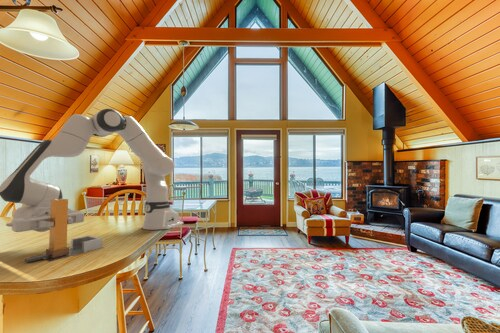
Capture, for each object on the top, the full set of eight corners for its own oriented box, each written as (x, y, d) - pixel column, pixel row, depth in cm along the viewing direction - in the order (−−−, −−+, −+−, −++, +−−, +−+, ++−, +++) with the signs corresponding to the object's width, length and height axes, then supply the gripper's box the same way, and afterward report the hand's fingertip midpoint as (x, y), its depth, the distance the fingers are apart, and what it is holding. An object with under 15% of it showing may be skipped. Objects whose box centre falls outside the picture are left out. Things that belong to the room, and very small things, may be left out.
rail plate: (90, 245, 96) (90, 243, 96) (103, 249, 92) (103, 247, 92) (37, 258, 81) (37, 256, 81) (49, 263, 77) (49, 261, 77)
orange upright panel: (62, 251, 86) (64, 198, 86) (69, 253, 83) (70, 199, 84) (22, 261, 76) (25, 201, 77) (29, 264, 74) (31, 202, 75)
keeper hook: (89, 244, 96) (89, 235, 96) (102, 247, 91) (102, 238, 91) (71, 248, 90) (71, 239, 90) (83, 252, 86) (84, 242, 86)
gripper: (4, 214, 80) (21, 218, 73) (73, 207, 98) (92, 210, 91) (3, 233, 79) (21, 239, 73) (72, 222, 97) (92, 226, 91)
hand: (61, 223), depth 82 cm, fingers open, 4 cm apart
